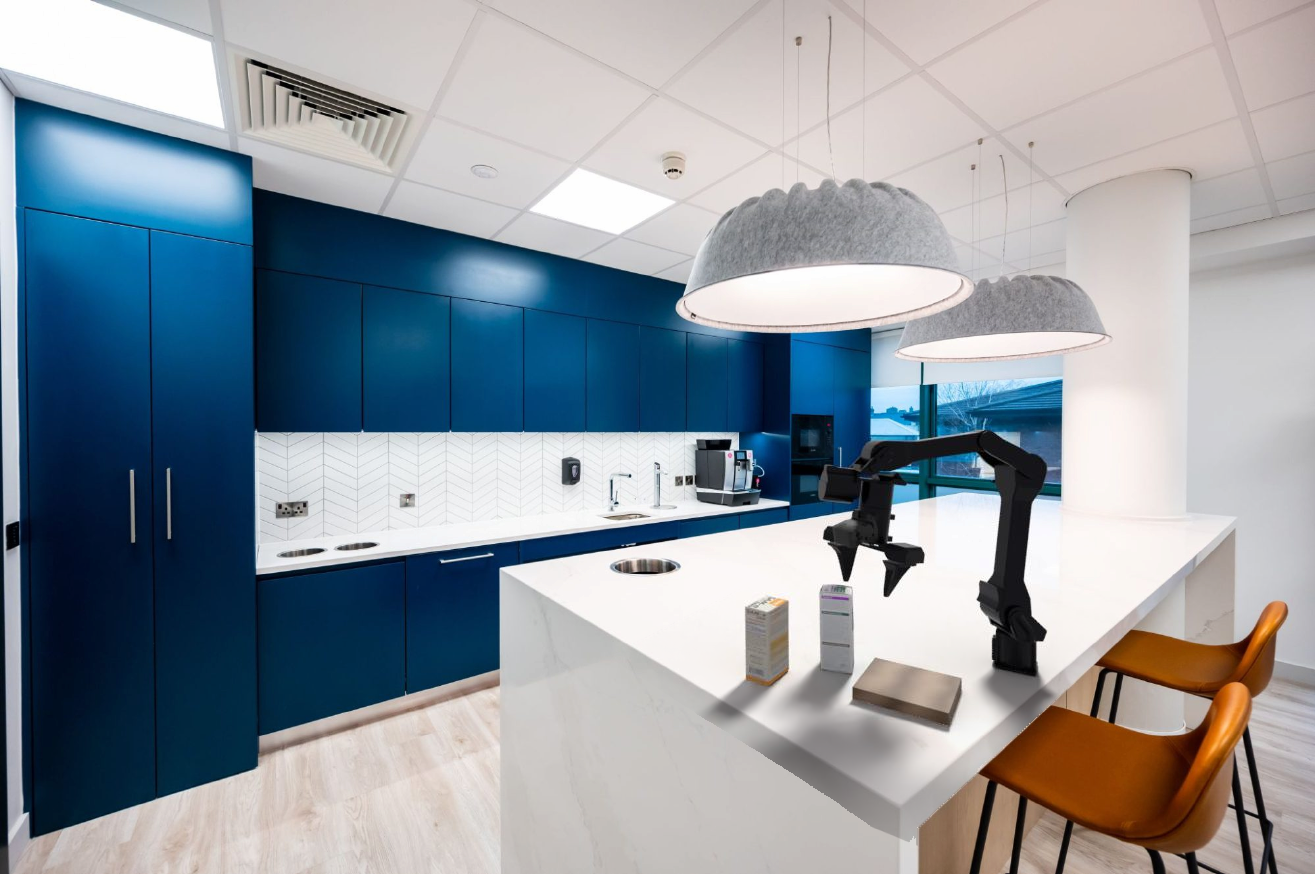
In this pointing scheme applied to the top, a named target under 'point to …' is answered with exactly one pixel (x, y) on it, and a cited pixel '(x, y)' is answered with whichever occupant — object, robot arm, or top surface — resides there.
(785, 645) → the supplement box
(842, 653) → the syrup box
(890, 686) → the walnut block
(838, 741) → the top surface
